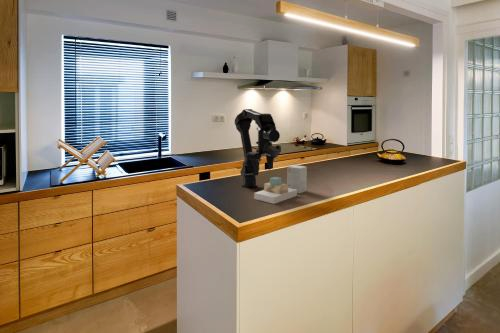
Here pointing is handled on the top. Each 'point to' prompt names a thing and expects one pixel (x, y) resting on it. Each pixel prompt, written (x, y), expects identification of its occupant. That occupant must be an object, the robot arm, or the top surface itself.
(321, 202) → the top surface
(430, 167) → the top surface
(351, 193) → the top surface
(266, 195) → the block
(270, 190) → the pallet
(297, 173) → the small box
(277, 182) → the crate
